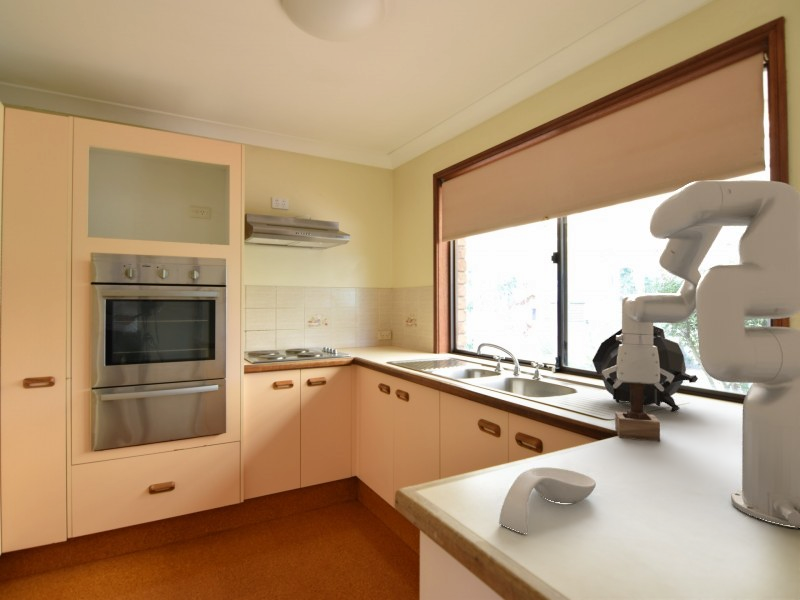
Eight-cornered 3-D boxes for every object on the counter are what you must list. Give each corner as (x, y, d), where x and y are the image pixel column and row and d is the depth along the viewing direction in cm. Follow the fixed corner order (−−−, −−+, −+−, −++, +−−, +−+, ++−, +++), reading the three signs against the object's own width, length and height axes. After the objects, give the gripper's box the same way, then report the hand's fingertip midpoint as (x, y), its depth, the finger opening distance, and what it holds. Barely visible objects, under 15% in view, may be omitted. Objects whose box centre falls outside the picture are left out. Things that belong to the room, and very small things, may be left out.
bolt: (650, 435, 118) (650, 377, 118) (629, 433, 119) (629, 377, 119) (644, 429, 123) (643, 374, 124) (624, 428, 124) (623, 373, 125)
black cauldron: (612, 402, 139) (575, 348, 158) (640, 436, 155) (603, 383, 174) (697, 353, 132) (647, 303, 151) (718, 395, 147) (670, 344, 166)
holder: (659, 441, 116) (660, 422, 116) (619, 437, 119) (619, 418, 119) (653, 432, 124) (653, 414, 124) (615, 429, 127) (615, 411, 127)
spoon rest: (544, 479, 91) (544, 444, 91) (604, 497, 83) (605, 457, 83) (480, 521, 73) (480, 476, 73) (550, 548, 65) (550, 498, 65)
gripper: (603, 340, 121) (603, 404, 120) (677, 342, 115) (677, 409, 115) (601, 338, 128) (600, 398, 127) (670, 340, 122) (670, 403, 122)
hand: (637, 403), depth 121 cm, fingers open, 9 cm apart
